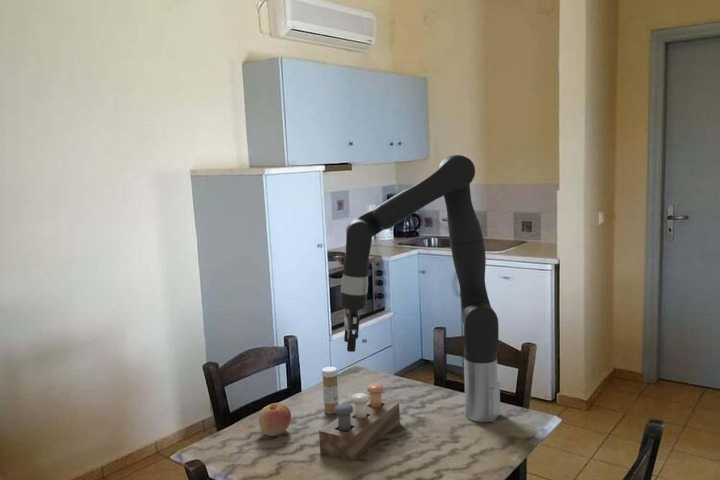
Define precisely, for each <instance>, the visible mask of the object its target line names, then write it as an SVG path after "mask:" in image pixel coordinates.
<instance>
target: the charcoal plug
mask: <svg viewBox="0 0 720 480" xmlns="http://www.w3.org/2000/svg"><path fill="white" fill-rule="evenodd" d="M353 407H354V406H353V405H352V404H349V403H340V404H338V405H337V406H336V407H335V414H336V415H337V418H338V425H339V431H343V432H348V431H349V430H351V419H350V413H352V412H353Z"/></svg>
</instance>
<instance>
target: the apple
mask: <svg viewBox="0 0 720 480" xmlns="http://www.w3.org/2000/svg"><path fill="white" fill-rule="evenodd" d="M291 420H292V413H291V409H290V408H289V407H288V406H287V405H286V404H284V403H282V402H280V403H279V402H274V403H270V404H268V405H267V406H264V407H263V408H262V409H261V411H260V412H259V416H258V425H259V428H260V431H262V432H263V433H264V434H266V435H267V436H269V437H270V436H271V437H276V436H279V435H282V434H283V433H284V432H285V431H287V429H289V427H290V424H291Z"/></svg>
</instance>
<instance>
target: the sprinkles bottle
mask: <svg viewBox="0 0 720 480" xmlns="http://www.w3.org/2000/svg"><path fill="white" fill-rule="evenodd" d="M321 376H322V389H323V402H324V403H323V405H324V406H323V407H324V408H323V410H324V413H325V414H328V415H333V414H336V413H335V407H336V406H337V405H339V385H338V368H337V367H334V366H326V367H323V368H322V369H321Z"/></svg>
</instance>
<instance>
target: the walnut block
mask: <svg viewBox="0 0 720 480" xmlns="http://www.w3.org/2000/svg"><path fill="white" fill-rule="evenodd" d="M368 396H369V401H368V402H366V407H367V418H366V419H364V420H360V419H356V418H355V405H354V406H352V407H353V412H352V413H350V419H351V430H349V431H348V432H343V431H339V425H338V417H337V418H335V419H334V420H332V421H331V422H330V423H328V424H327V425H325V426H323V428H321V429H319V430H318V435H319V436H318V439H319V453H321V454H324V455H328V456H331V457H334V458H338V459H342V460H345V461H349V462H354V461H355V460H356V459H358V458H359V457H360V456H361V455H362V454H364V453H365V452H366V451H367V450H368V449H370V448H371V447H372V446H373V445H374V444H376V443H377V442H378V441H379V440H381V439H382V438H383V437H384V436H385V435H387V434H388V433H389V432H391V430H393V429H394V428H395V427H396V426H397V425H398V424H400V422H401V419H400V402H398V401H394V400H388V399H383V398H381V402H382V407H381V408H379V409H376V408H371V407H370V395H368Z"/></svg>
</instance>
